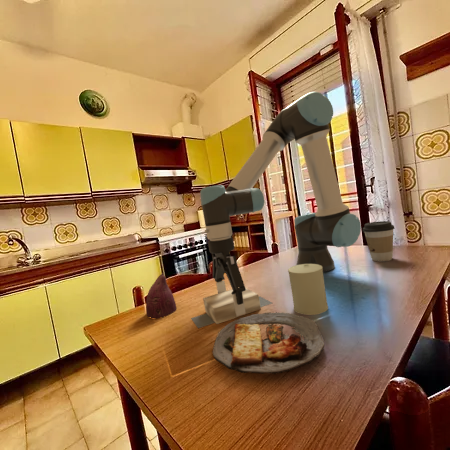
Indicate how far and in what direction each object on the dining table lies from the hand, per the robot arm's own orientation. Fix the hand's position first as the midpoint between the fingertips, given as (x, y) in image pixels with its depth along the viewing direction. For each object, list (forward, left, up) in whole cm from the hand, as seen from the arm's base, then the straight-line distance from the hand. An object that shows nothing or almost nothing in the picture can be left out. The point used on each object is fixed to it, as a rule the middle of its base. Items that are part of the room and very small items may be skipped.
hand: (231, 307), depth 78 cm
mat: (0, 0, -1) cm, 1 cm away
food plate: (+22, -1, -2) cm, 22 cm away
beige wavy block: (0, 0, -1) cm, 1 cm away
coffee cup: (-3, +69, -2) cm, 69 cm away
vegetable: (-17, -19, -2) cm, 25 cm away
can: (+14, +18, -2) cm, 23 cm away
